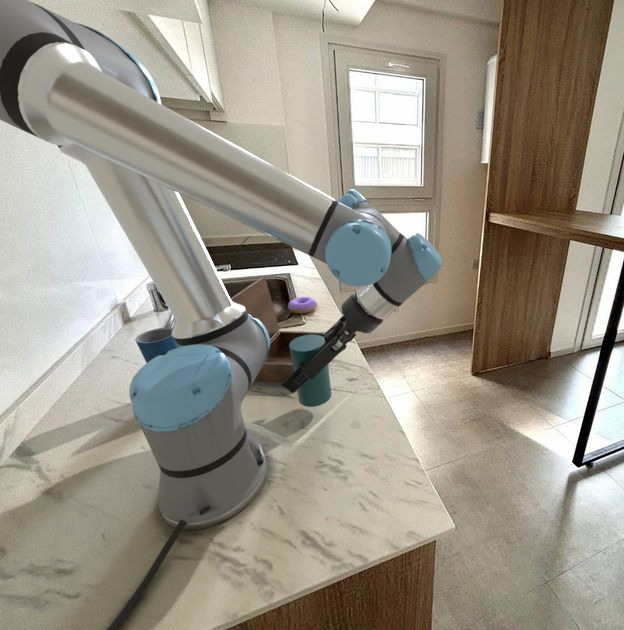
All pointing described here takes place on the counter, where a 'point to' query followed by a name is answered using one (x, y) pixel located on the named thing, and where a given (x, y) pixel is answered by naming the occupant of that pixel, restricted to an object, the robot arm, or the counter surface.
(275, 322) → the lid
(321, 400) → the can
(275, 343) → the chest
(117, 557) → the counter surface
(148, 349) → the cup
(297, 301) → the donut
